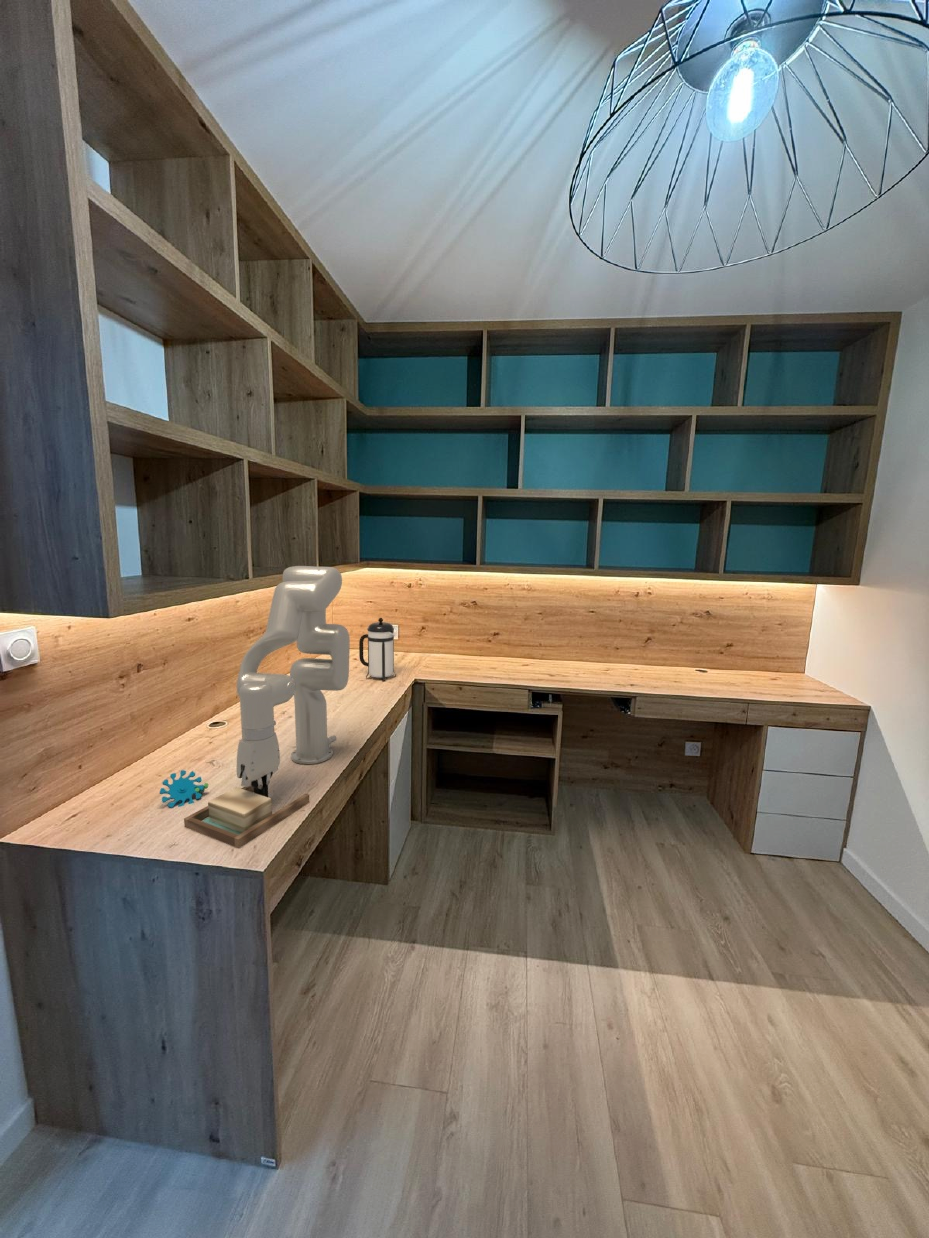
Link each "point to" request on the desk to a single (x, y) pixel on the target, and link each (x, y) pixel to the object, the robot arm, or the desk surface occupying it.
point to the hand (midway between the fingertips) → (261, 800)
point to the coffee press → (379, 650)
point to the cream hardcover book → (239, 809)
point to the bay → (234, 836)
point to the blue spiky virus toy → (182, 789)
